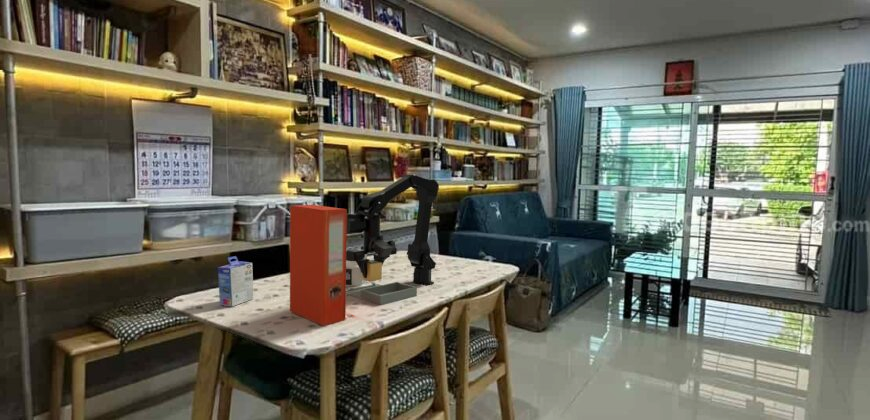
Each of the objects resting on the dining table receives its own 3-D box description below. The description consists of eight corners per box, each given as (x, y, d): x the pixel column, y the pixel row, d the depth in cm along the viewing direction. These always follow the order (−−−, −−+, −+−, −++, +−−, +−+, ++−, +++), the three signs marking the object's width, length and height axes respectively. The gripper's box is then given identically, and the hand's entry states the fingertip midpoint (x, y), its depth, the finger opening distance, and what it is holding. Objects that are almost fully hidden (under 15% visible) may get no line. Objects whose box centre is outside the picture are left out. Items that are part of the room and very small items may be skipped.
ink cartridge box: (240, 297, 155) (240, 253, 153) (254, 299, 153) (253, 255, 151) (217, 305, 145) (216, 259, 144) (232, 307, 143) (231, 260, 142)
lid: (377, 285, 173) (377, 281, 173) (395, 291, 166) (395, 286, 166) (341, 293, 161) (341, 288, 161) (359, 299, 154) (359, 294, 154)
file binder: (313, 306, 146) (313, 204, 143) (346, 319, 134) (346, 208, 131) (289, 311, 140) (289, 205, 137) (322, 326, 128) (322, 210, 126)
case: (395, 291, 166) (395, 281, 166) (416, 297, 159) (416, 287, 158) (359, 299, 154) (359, 289, 154) (380, 306, 147) (380, 296, 147)
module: (372, 276, 166) (372, 259, 165) (381, 279, 163) (381, 261, 162) (361, 279, 162) (361, 260, 162) (370, 281, 159) (370, 263, 158)
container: (360, 287, 170) (360, 252, 168) (340, 286, 171) (340, 251, 170) (367, 282, 177) (367, 248, 176) (348, 281, 179) (348, 247, 177)
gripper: (365, 237, 149) (364, 285, 150) (407, 232, 162) (406, 276, 164) (344, 233, 156) (343, 279, 158) (386, 228, 170) (385, 271, 171)
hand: (371, 276), depth 162 cm, fingers closed on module, 5 cm apart
